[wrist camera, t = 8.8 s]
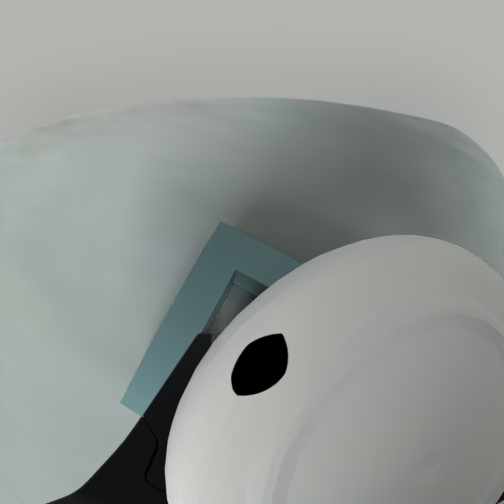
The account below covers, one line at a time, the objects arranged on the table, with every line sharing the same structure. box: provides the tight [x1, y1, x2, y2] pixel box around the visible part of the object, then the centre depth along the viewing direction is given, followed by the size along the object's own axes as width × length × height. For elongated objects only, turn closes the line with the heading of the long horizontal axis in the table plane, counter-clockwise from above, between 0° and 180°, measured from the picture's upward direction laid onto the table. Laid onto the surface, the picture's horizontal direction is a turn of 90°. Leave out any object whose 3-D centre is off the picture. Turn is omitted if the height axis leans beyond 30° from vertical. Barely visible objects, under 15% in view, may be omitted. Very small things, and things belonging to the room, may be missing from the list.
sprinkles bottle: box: [165, 235, 504, 504], centre depth 8 cm, size 5×5×14 cm
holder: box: [121, 222, 303, 417], centre depth 14 cm, size 10×10×4 cm
